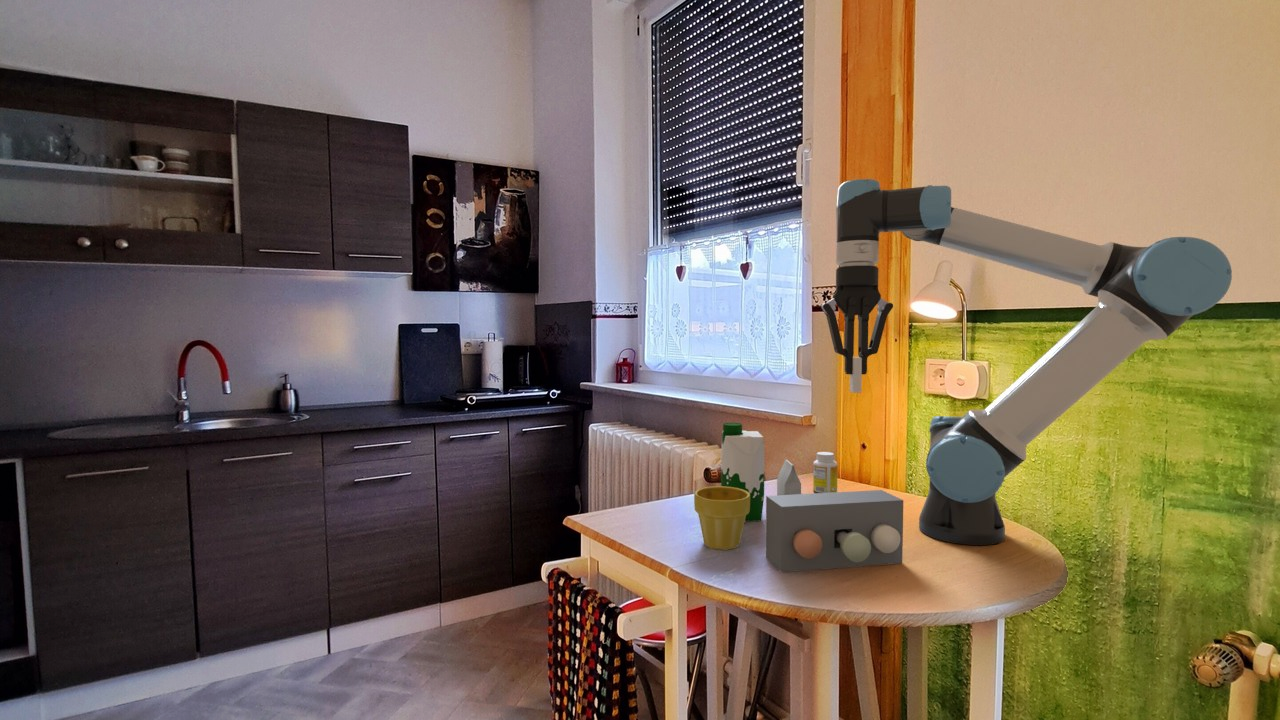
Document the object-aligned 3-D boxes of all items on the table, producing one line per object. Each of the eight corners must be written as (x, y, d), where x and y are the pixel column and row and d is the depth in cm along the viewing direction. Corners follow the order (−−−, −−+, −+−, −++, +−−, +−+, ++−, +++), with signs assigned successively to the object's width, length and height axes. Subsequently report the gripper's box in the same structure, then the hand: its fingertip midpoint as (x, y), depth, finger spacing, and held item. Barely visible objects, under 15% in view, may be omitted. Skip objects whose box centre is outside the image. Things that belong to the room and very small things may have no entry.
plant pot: (747, 555, 115) (748, 501, 115) (690, 551, 118) (690, 498, 117) (751, 537, 126) (751, 487, 125) (698, 533, 128) (698, 484, 127)
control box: (880, 549, 118) (881, 490, 118) (902, 563, 111) (903, 500, 111) (765, 557, 115) (766, 495, 114) (781, 572, 108) (781, 506, 107)
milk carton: (719, 510, 144) (719, 421, 143) (760, 510, 143) (760, 421, 142) (723, 522, 135) (723, 427, 134) (767, 522, 135) (767, 427, 134)
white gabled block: (784, 510, 144) (784, 465, 143) (777, 502, 150) (777, 459, 150) (800, 510, 144) (801, 465, 143) (792, 501, 151) (793, 459, 150)
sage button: (853, 549, 111) (853, 523, 110) (870, 561, 105) (871, 534, 105) (828, 550, 110) (829, 525, 110) (845, 563, 104) (845, 536, 104)
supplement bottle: (834, 492, 159) (835, 451, 158) (839, 498, 153) (839, 455, 153) (811, 492, 159) (811, 450, 159) (815, 498, 154) (815, 455, 153)
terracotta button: (807, 545, 112) (807, 520, 112) (822, 557, 106) (822, 531, 106) (783, 547, 111) (783, 522, 111) (796, 559, 106) (797, 533, 106)
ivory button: (881, 541, 115) (881, 516, 114) (900, 552, 109) (900, 526, 109) (858, 542, 114) (858, 517, 114) (876, 553, 108) (876, 528, 108)
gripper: (825, 264, 118) (823, 393, 119) (899, 263, 116) (897, 394, 118) (817, 268, 125) (816, 389, 126) (887, 267, 124) (885, 390, 125)
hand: (855, 391), depth 122 cm, fingers closed
